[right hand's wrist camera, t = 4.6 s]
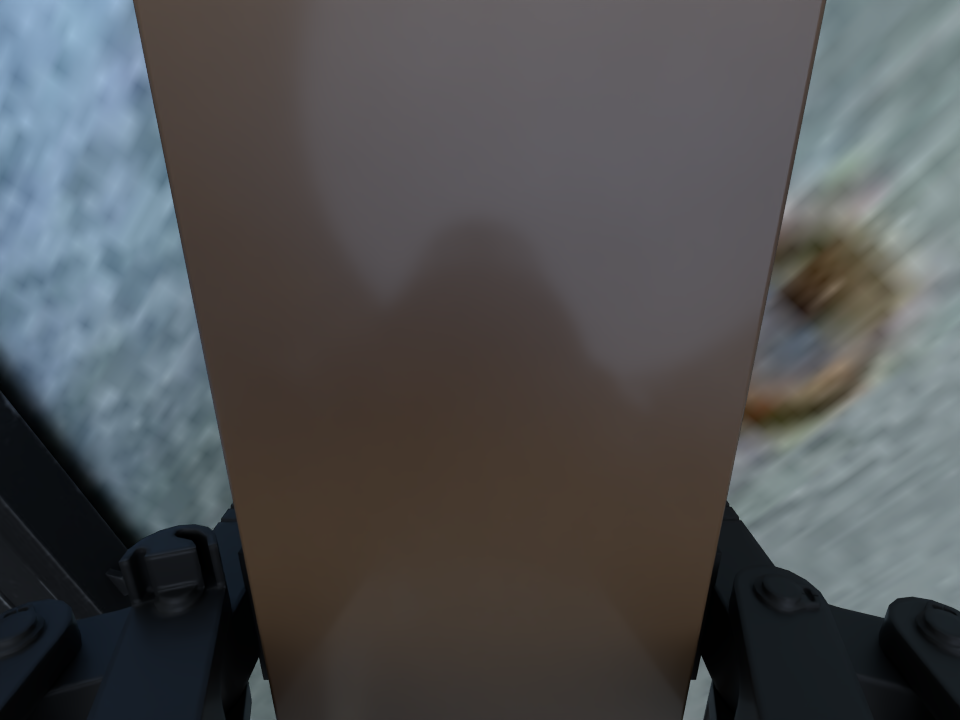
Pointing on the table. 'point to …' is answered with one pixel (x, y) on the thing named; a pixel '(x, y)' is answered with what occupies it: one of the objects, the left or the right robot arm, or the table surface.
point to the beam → (479, 328)
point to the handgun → (51, 531)
